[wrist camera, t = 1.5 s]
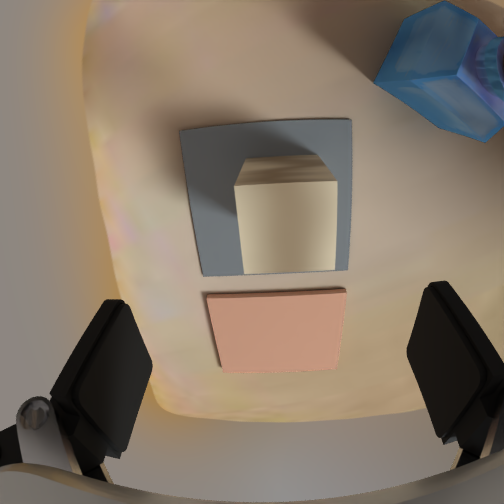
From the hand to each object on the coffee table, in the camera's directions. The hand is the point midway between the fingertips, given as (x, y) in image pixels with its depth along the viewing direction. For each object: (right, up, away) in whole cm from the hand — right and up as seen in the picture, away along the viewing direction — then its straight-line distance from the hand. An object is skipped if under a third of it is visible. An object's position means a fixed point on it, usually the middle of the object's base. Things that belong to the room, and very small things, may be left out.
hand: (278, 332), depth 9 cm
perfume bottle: (+12, +15, +8) cm, 21 cm away
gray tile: (+1, +6, +13) cm, 15 cm away
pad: (+2, -5, +20) cm, 20 cm away
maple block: (+1, +7, +13) cm, 14 cm away
